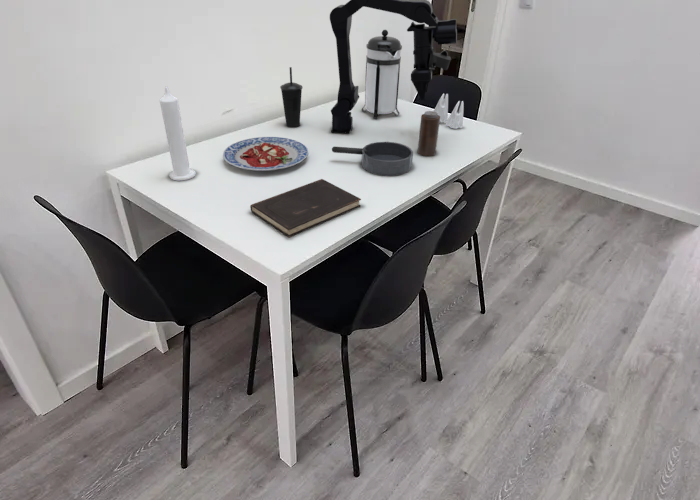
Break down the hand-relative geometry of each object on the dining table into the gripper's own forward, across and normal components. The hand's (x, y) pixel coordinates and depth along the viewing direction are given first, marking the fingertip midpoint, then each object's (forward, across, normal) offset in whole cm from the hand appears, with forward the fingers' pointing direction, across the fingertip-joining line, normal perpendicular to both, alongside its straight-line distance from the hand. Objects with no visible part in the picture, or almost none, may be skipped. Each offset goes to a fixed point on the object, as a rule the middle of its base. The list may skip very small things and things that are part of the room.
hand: (424, 96), depth 159 cm
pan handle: (+9, -26, +20) cm, 34 cm away
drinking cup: (+9, +1, +47) cm, 48 cm away
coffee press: (+12, +23, +20) cm, 33 cm away
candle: (+6, -48, +64) cm, 81 cm away
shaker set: (+15, +16, -6) cm, 23 cm away
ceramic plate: (+9, -30, +46) cm, 56 cm away
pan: (+13, -26, +9) cm, 30 cm away
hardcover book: (+11, -58, +25) cm, 64 cm away
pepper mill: (+15, -13, -2) cm, 19 cm away
